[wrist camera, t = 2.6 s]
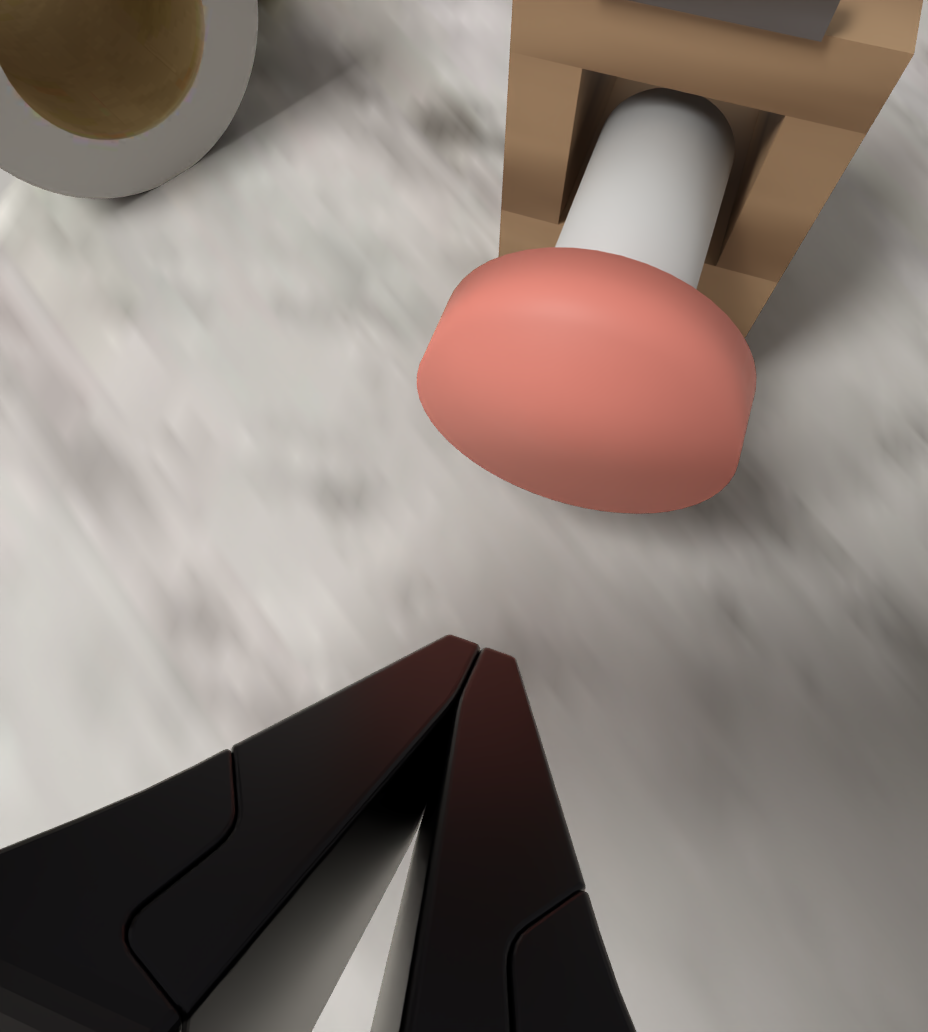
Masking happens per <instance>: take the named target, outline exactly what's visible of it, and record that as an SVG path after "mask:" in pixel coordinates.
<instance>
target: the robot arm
mask: <svg viewBox="0 0 928 1032" xmlns="http://www.w3.org/2000/svg"><path fill="white" fill-rule="evenodd" d="M422 817H423V818H422ZM421 819H422V821H421ZM420 821H421V824H420ZM419 824H420V828H419V831H418V835H417V839H416V842H415V846H414V850H413V854H412V858H411V862H410V866H409V871H408V875H407V879H406V883H405V888H404V892H403V896H402V900H401V904H400V909H399V913H398V917H397V921H396V926H395V930H394V934H393V938H392V942H391V947H390V951H389V955H388V959H387V964H386V968H385V972H384V976H383V980H382V985H381V989H380V993H379V997H378V1002H377V1006H376V1010H375V1014H374V1018H373V1023H372V1027H371V1031H370V1032H636V1030H635V1027H634V1025H633V1022H632V1020H631V1017H630V1015H629V1012H628V1010H627V1007H626V1005H625V1002H624V1000H623V997H622V995H621V992H620V990H619V987H618V984H617V981H616V978H615V975H614V972H613V969H612V966H611V963H610V960H609V957H608V955H607V952H606V949H605V946H604V943H603V940H602V937H601V934H600V931H599V928H598V924H597V921H596V918H595V914H594V911H593V908H592V904H591V901H590V898H589V895H588V893H587V892H585V883H584V879H583V876H582V873H581V870H580V866H579V863H578V860H577V857H576V853H575V850H574V847H573V843H572V840H571V837H570V834H569V830H568V827H567V824H566V821H565V817H564V814H563V811H562V808H561V804H560V801H559V798H558V794H557V791H556V788H555V785H554V781H553V778H552V775H551V772H550V768H549V765H548V762H547V759H546V755H545V752H544V749H543V746H542V742H541V739H540V736H539V732H538V729H537V726H536V723H535V719H534V716H533V713H532V710H531V706H530V703H529V700H528V697H527V693H526V690H525V687H524V684H523V680H522V677H521V674H520V670H519V667H518V664H517V661H516V659H515V658H514V657H512V656H510V655H507V654H504V653H501V652H499V651H496V650H493V649H490V648H483V649H482V650H481V651H480V647H479V646H478V645H477V644H476V643H473V642H470V641H468V640H465V639H462V638H459V637H456V636H454V635H446V636H444V637H442V638H440V639H438V640H436V641H434V642H432V643H430V644H428V645H426V646H425V647H423V648H421V649H419V650H417V651H415V652H413V653H411V654H409V655H407V656H405V657H403V658H401V659H399V660H398V661H396V662H394V663H392V664H390V665H388V666H386V667H384V668H382V669H380V670H378V671H376V672H374V673H372V674H370V675H369V676H367V677H365V678H363V679H361V680H359V681H357V682H355V683H353V684H351V685H349V686H347V687H345V688H343V689H342V690H340V691H338V692H336V693H334V694H332V695H330V696H328V697H326V698H324V699H322V700H320V701H318V702H316V703H315V704H313V705H311V706H309V707H307V708H305V709H303V710H301V711H299V712H297V713H295V714H293V715H291V716H289V717H288V718H286V719H284V720H282V721H280V722H278V723H276V724H274V725H272V726H270V727H268V728H266V729H264V730H262V731H261V732H259V733H257V734H255V735H253V736H251V737H249V738H247V739H245V740H243V741H241V742H239V743H237V744H235V745H234V746H233V747H232V749H231V751H230V750H228V749H225V750H223V751H221V752H219V753H217V754H215V755H214V756H212V757H210V758H208V759H206V760H204V761H202V762H200V763H198V764H196V765H194V766H192V767H190V768H188V769H186V770H184V771H182V772H180V773H178V774H176V775H174V776H171V777H169V778H167V779H165V780H163V781H161V782H159V783H157V784H155V785H153V786H151V787H149V788H147V789H145V790H143V791H140V792H138V793H136V794H133V795H131V796H129V797H126V798H124V799H122V800H119V801H117V802H114V803H112V804H110V805H107V806H105V807H103V808H100V809H98V810H96V811H93V812H91V813H89V814H86V815H84V816H82V817H79V818H77V819H74V820H72V821H69V822H67V823H64V824H62V825H59V826H57V827H54V828H52V829H49V830H47V831H44V832H42V833H40V834H37V835H35V836H32V837H30V838H27V839H25V840H22V841H20V842H17V843H15V844H12V845H10V846H7V847H5V848H2V849H0V1032H312V1030H313V1028H314V1026H315V1024H316V1022H317V1020H318V1018H319V1016H320V1015H321V1013H322V1011H323V1009H324V1007H325V1005H326V1003H327V1001H328V999H329V997H330V996H331V994H332V992H333V990H334V988H335V986H336V984H337V982H338V980H339V978H340V977H341V975H342V973H343V971H344V969H345V967H346V965H347V963H348V961H349V959H350V958H351V956H352V954H353V952H354V950H355V948H356V946H357V944H358V942H359V940H360V939H361V937H362V935H363V933H364V931H365V929H366V927H367V925H368V923H369V921H370V920H371V918H372V916H373V914H374V912H375V910H376V908H377V906H378V904H379V902H380V901H381V899H382V897H383V895H384V893H385V891H386V889H387V887H388V885H389V883H390V882H391V880H392V878H393V876H394V874H395V872H396V870H397V868H398V866H399V864H400V863H401V861H402V859H403V857H404V855H405V853H406V851H407V849H408V847H409V845H410V843H411V841H412V839H413V837H414V835H415V833H416V831H417V829H418V826H419Z"/></svg>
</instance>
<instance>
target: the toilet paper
mask: <svg viewBox="0 0 928 1032" xmlns="http://www.w3.org/2000/svg"><path fill="white" fill-rule="evenodd" d="M257 33H258V2H257V0H0V168H1V169H3V170H4V171H6V172H8V173H10V174H11V175H13V176H15V177H17V178H18V179H21V180H23V181H25V182H27V183H29V184H31V185H33V186H36V187H39V188H42V189H45V190H47V191H51V192H54V193H58V194H62V195H67V196H73V197H79V198H92V199H104V198H117V197H125V196H129V195H134V194H139V193H142V192H145V191H148V190H151V189H154V188H156V187H158V186H160V185H162V184H164V183H165V182H167V181H169V180H170V179H172V178H174V177H176V176H177V175H179V174H181V173H182V172H184V171H186V170H187V169H189V168H191V167H192V166H193V165H194V164H196V163H197V162H198V161H199V160H200V159H201V158H202V157H203V156H204V155H205V154H206V153H207V152H208V151H209V150H210V149H211V148H212V147H213V146H214V145H215V143H216V142H217V141H218V140H219V138H220V137H221V136H222V134H223V133H224V132H225V130H226V129H227V127H228V125H229V124H230V122H231V121H232V119H233V117H234V115H235V113H236V111H237V109H238V107H239V105H240V103H241V101H242V98H243V96H244V93H245V91H246V88H247V85H248V82H249V79H250V75H251V71H252V67H253V63H254V58H255V51H256V45H257Z"/></svg>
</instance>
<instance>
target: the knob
mask: <svg viewBox="0 0 928 1032" xmlns="http://www.w3.org/2000/svg"><path fill="white" fill-rule="evenodd" d="M734 155H735V142H734V136H733V132H732V129H731V127H730V125H729V123H728V121H727V119H726V118H725V116H724V115H723V113H722V112H721V111H720V110H719V109H718V108H717V107H716V106H715V105H714V104H713V103H712V102H710V101H709V100H707V99H706V98H704V97H702V96H699V95H694V94H690V93H686V92H681V91H677V90H673V89H668V88H664V87H663V88H654V89H649V90H645V91H642V92H639V93H637V94H635V95H633V96H631V97H629V98H627V99H626V100H624V101H623V102H622V103H620V104H619V105H618V106H617V107H616V108H615V109H614V110H613V111H612V113H611V114H610V115H609V117H608V118H607V120H606V121H605V123H604V126H603V128H602V130H601V133H600V135H599V138H598V140H597V143H596V145H595V148H594V150H593V153H592V156H591V158H590V161H589V163H588V166H587V168H586V171H585V173H584V176H583V178H582V181H581V183H580V186H579V188H578V191H577V193H576V196H575V198H574V201H573V203H572V206H571V208H570V211H569V213H568V216H567V218H566V221H565V223H564V226H563V228H562V231H561V233H560V236H559V238H558V241H557V243H556V246H555V247H547V248H538V249H528V250H523V251H519V252H514V253H510V254H506V255H503V256H501V257H498V258H496V259H493V260H490V261H488V262H487V263H485V264H483V265H481V266H480V267H478V268H476V269H474V270H473V271H472V272H471V273H470V274H468V275H467V276H466V277H465V278H464V279H463V280H462V281H461V282H460V283H459V285H458V286H457V287H456V288H455V290H454V291H453V293H452V295H451V297H450V299H449V301H448V303H447V305H446V308H445V310H444V312H443V314H442V316H441V319H440V321H439V323H438V325H437V327H436V330H435V332H434V334H433V336H432V338H431V341H430V343H429V345H428V347H427V349H426V352H425V354H424V356H423V358H422V360H421V362H420V365H419V369H418V373H417V389H418V394H419V398H420V401H421V403H422V406H423V408H424V410H425V412H426V414H427V415H428V417H429V418H430V420H431V422H432V423H433V424H434V426H435V427H436V428H437V429H438V431H439V432H440V433H441V434H442V435H443V436H444V437H445V438H446V439H447V440H448V441H449V442H450V443H451V444H452V445H453V446H454V447H455V448H456V449H458V450H459V451H460V452H461V453H462V454H464V455H465V456H466V457H468V458H469V459H470V460H472V461H473V462H475V463H476V464H478V465H479V466H481V467H482V468H484V469H485V470H487V471H489V472H490V473H492V474H494V475H496V476H498V477H499V478H501V479H503V480H505V481H507V482H509V483H511V484H513V485H516V486H518V487H520V488H522V489H525V490H527V491H530V492H532V493H535V494H537V495H540V496H543V497H546V498H549V499H552V500H555V501H559V502H562V503H566V504H570V505H574V506H578V507H583V508H588V509H594V510H599V511H607V512H616V513H634V514H639V513H659V512H668V511H673V510H678V509H683V508H687V507H690V506H693V505H696V504H699V503H701V502H703V501H705V500H707V499H709V498H711V497H712V496H714V495H715V494H717V493H719V492H720V491H721V490H722V489H723V488H724V487H725V486H726V485H727V484H728V483H729V482H730V480H731V479H732V477H733V476H734V474H735V472H736V469H737V466H738V463H739V459H740V454H741V450H742V446H743V441H744V437H745V433H746V429H747V424H748V420H749V416H750V411H751V407H752V403H753V399H754V394H755V390H756V370H755V363H754V359H753V356H752V354H751V351H750V348H749V346H748V344H747V342H746V341H745V339H744V337H743V335H742V334H741V332H740V330H739V329H738V328H737V327H736V325H735V324H734V323H733V322H732V320H731V319H730V318H729V317H728V316H727V314H726V313H724V312H723V311H722V310H721V309H720V308H719V307H718V306H717V305H716V304H715V303H714V302H713V301H712V300H710V299H709V298H708V297H706V296H705V295H703V294H702V293H701V292H699V291H698V290H697V285H698V282H699V279H700V275H701V272H702V268H703V265H704V261H705V258H706V254H707V251H708V248H709V244H710V241H711V237H712V234H713V230H714V227H715V223H716V220H717V216H718V213H719V210H720V206H721V203H722V199H723V196H724V192H725V189H726V185H727V182H728V178H729V175H730V172H731V168H732V165H733V161H734Z"/></svg>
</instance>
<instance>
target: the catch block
mask: <svg viewBox="0 0 928 1032" xmlns="http://www.w3.org/2000/svg"><path fill="white" fill-rule="evenodd" d="M922 3H923V0H513V4H512V23H511V41H510V59H509V78H508V96H507V114H506V132H505V151H504V169H503V187H502V206H501V224H500V242H499V257H501V256H503V255H506V254H510V253H514V252H519V251H523V250H528V249H538V248H547V247H555V246H556V243H557V241H558V238H559V236H560V233H561V231H562V228H563V226H564V223H565V221H566V218H567V216H568V213H569V211H570V208H571V206H572V203H573V201H574V198H575V196H576V193H577V191H578V188H579V186H580V183H581V181H582V178H583V176H584V173H585V171H586V168H587V166H588V163H589V161H590V158H591V156H592V153H593V150H594V148H595V145H596V143H597V140H598V138H599V135H600V133H601V130H602V128H603V126H604V123H605V121H606V120H607V118H608V117H609V115H610V114H611V113H612V111H613V110H614V109H615V108H616V107H617V106H618V105H619V104H620V103H622V102H623V101H624V100H626V99H627V98H629V97H631V96H633V95H635V94H637V93H639V92H642V91H645V90H649V89H654V88H663V87H664V88H668V89H673V90H677V91H681V92H686V93H690V94H694V95H699V96H702V97H704V98H706V99H707V100H709V101H710V102H712V103H713V104H714V105H715V106H716V107H717V108H718V109H719V110H720V111H721V112H722V113H723V115H724V116H725V118H726V119H727V121H728V123H729V125H730V127H731V129H732V132H733V136H734V142H735V155H734V161H733V165H732V168H731V172H730V175H729V178H728V182H727V185H726V189H725V192H724V196H723V199H722V203H721V206H720V210H719V213H718V216H717V220H716V223H715V227H714V230H713V234H712V237H711V241H710V244H709V248H708V251H707V254H706V258H705V261H704V265H703V268H702V272H701V275H700V279H699V282H698V285H697V290H698V291H699V292H701V293H702V294H703V295H705V296H706V297H708V298H709V299H710V300H712V301H713V302H714V303H715V304H716V305H717V306H718V307H719V308H720V309H721V310H722V311H723V312H724V313H726V314H727V316H728V317H729V318H730V319H731V320H732V322H733V323H734V324H735V325H736V327H737V328H738V329H739V330H740V332H741V334H742V335H743V337H744V339H745V337H746V335H747V334H748V332H749V330H750V329H751V327H752V325H753V324H754V322H755V320H756V319H757V317H758V315H759V314H760V312H761V310H762V308H763V307H764V305H765V303H766V302H767V300H768V298H769V297H770V295H771V293H772V292H773V290H774V288H775V287H776V285H777V283H778V282H779V280H780V278H781V277H782V275H783V273H784V272H785V270H786V268H787V266H788V265H789V263H790V261H791V260H792V258H793V256H794V255H795V253H796V251H797V250H798V248H799V246H800V245H801V243H802V241H803V240H804V238H805V236H806V235H807V233H808V231H809V230H810V228H811V226H812V224H813V223H814V221H815V219H816V218H817V216H818V214H819V213H820V211H821V209H822V208H823V206H824V204H825V203H826V201H827V199H828V198H829V196H830V194H831V193H832V191H833V189H834V188H835V186H836V184H837V182H838V181H839V179H840V177H841V176H842V174H843V172H844V171H845V169H846V167H847V166H848V164H849V162H850V161H851V159H852V157H853V156H854V154H855V152H856V151H857V149H858V147H859V146H860V144H861V142H862V140H863V139H864V137H865V135H866V134H867V132H868V130H869V129H870V127H871V125H872V124H873V122H874V120H875V119H876V117H877V115H878V114H879V112H880V110H881V109H882V107H883V105H884V104H885V102H886V100H887V99H888V97H889V95H890V93H891V92H892V90H893V88H894V87H895V85H896V83H897V82H898V80H899V78H900V77H901V75H902V73H903V72H904V70H905V68H906V67H907V65H908V63H909V62H910V60H911V58H912V57H913V55H914V51H915V45H916V39H917V33H918V27H919V21H920V15H921V9H922Z"/></svg>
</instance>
